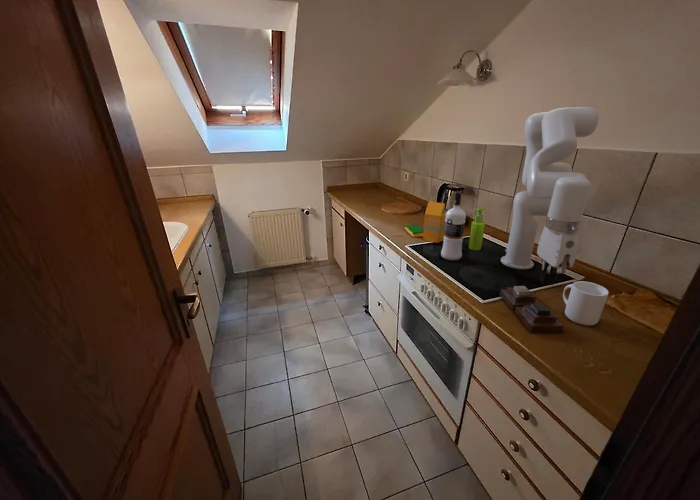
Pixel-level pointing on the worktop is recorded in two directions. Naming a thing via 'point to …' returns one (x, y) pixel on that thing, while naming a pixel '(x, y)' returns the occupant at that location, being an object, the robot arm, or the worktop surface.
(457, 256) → the vodka
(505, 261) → the robot arm
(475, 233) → the soap dispenser
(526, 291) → the key ivory
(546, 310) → the key black
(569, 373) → the worktop surface
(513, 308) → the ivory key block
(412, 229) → the dish sponge
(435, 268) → the worktop surface
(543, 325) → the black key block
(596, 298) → the mug
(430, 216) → the orange juice
